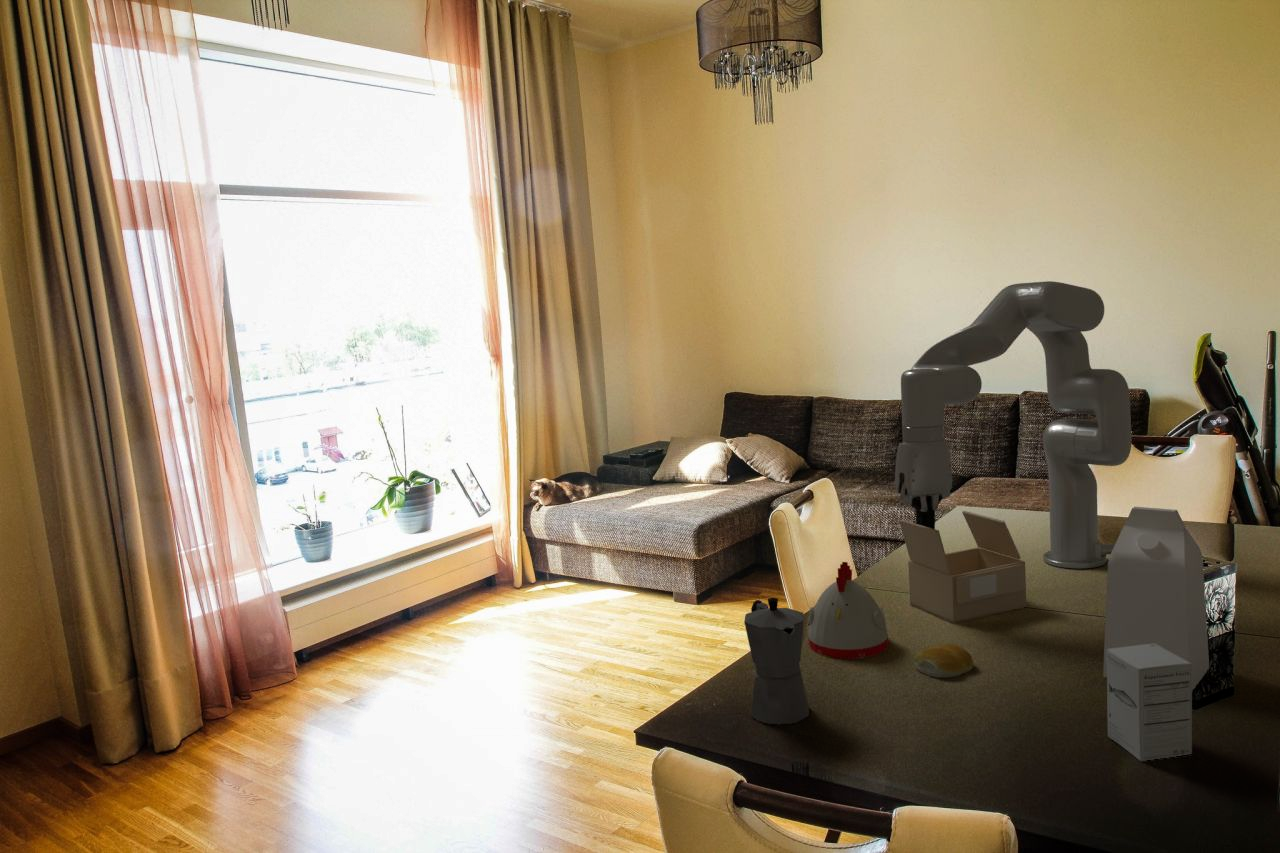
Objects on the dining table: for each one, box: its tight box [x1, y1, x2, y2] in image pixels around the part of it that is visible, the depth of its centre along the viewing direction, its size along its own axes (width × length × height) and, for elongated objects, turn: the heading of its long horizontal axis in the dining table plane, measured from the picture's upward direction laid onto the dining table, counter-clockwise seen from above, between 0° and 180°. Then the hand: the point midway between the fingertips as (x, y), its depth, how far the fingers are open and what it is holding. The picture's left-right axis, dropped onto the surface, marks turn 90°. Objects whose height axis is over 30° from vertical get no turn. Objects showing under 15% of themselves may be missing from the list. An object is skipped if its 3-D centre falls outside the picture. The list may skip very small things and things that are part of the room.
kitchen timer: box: [807, 561, 889, 659], centre depth 166 cm, size 14×14×15 cm
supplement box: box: [1106, 644, 1193, 762], centre depth 122 cm, size 7×7×13 cm
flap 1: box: [898, 518, 950, 574], centre depth 177 cm, size 1×11×9 cm, turn 21°
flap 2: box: [961, 510, 1022, 560], centre depth 182 cm, size 1×11×9 cm, turn 21°
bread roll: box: [914, 643, 974, 679], centre depth 153 cm, size 8×9×4 cm
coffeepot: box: [744, 597, 810, 726], centre depth 142 cm, size 15×9×18 cm, turn 13°
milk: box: [1102, 506, 1210, 692], centre depth 144 cm, size 12×12×26 cm
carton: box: [907, 546, 1027, 625], centre depth 181 cm, size 17×14×9 cm
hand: (926, 530), depth 177 cm, fingers closed
